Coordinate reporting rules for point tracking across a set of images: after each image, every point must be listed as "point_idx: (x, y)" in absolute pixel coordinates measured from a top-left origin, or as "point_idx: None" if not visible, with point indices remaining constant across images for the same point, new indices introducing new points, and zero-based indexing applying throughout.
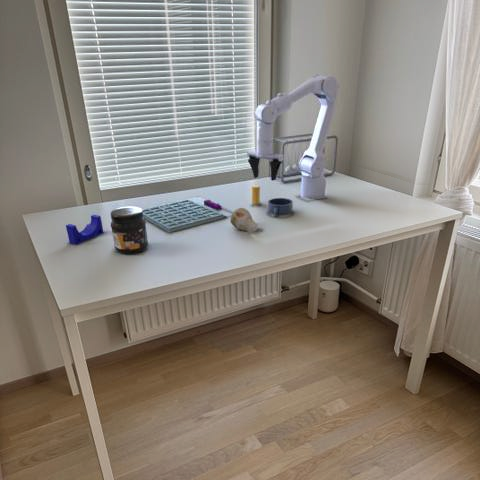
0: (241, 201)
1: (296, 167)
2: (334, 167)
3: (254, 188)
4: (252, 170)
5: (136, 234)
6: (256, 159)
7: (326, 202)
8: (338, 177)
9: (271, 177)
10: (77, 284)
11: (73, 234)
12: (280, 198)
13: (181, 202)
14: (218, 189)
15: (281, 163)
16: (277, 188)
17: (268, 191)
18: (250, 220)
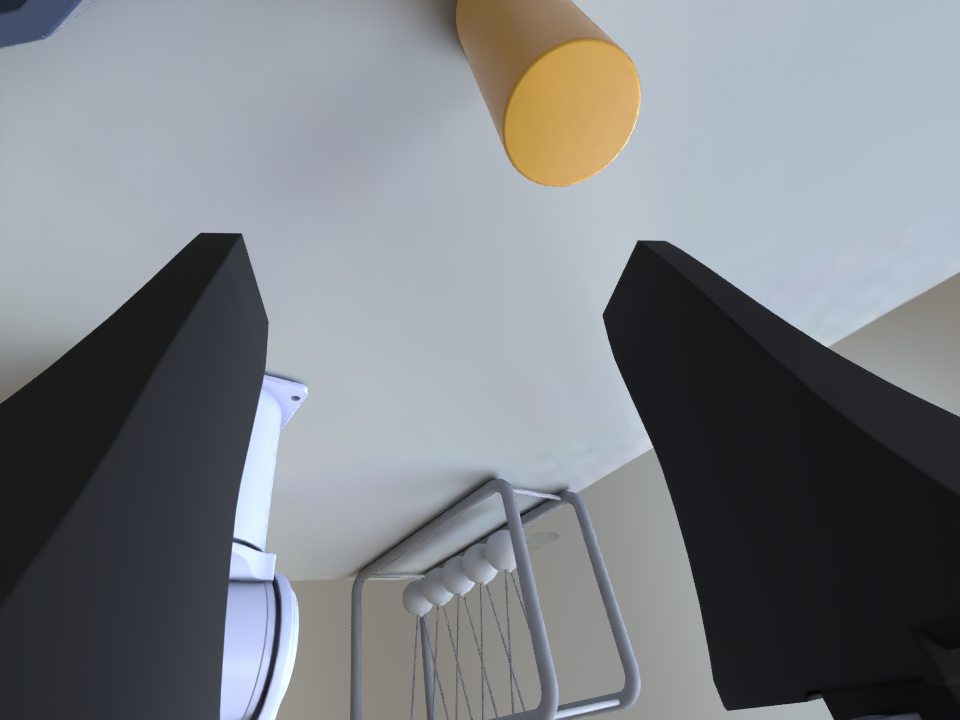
0: (692, 93)
1: (475, 569)
2: (353, 606)
3: (575, 30)
4: (785, 324)
5: None
6: (827, 646)
7: (11, 383)
8: (322, 571)
9: (208, 262)
10: None
11: None
12: (23, 7)
13: None
14: (871, 283)
15: (529, 576)
16: (495, 427)
17: (527, 379)
18: None
